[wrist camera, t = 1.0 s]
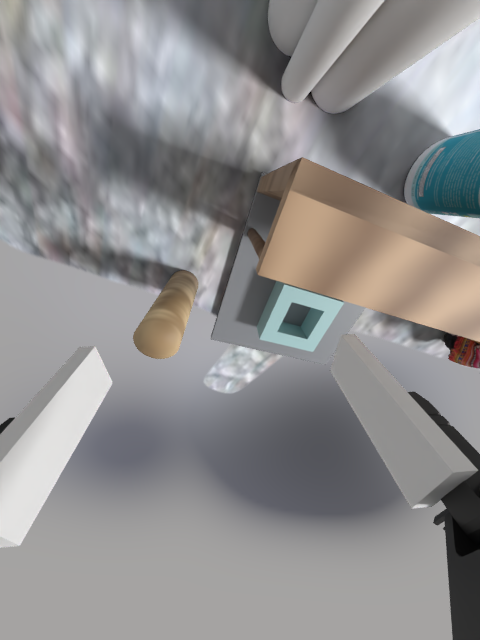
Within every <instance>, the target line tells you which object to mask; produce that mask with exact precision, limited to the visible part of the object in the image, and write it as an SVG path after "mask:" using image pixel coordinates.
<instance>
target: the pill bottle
mask: <svg viewBox="0 0 480 640" xmlns="http://www.w3.org/2000/svg"><path fill="white" fill-rule="evenodd" d="M404 195H405V200H406V202H407V204H408V205H411V206H413V207H415V208H417V209H420V210H422V211H424V212H426V213H429V214H441V215H451V216H462V217H472V218H480V129H479V130H475V131H471V132H467V133H463V134H459V135H455V136H452V137H448V138H445V139H442V140H440V141H438V142H436V143H435V144H433V145H432V146H430V147H429V148H428V149H426V150H425V151H424V152H423V153H422V154H421V155H420V156H419V157H418V159H417V160H416V161H415V163H414V164H413V166H412V168H411V169H410V171H409V173H408V176H407V179H406V182H405V187H404Z"/></svg>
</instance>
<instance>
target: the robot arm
mask: <svg viewBox="0 0 480 640" xmlns="http://www.w3.org/2000/svg"><path fill="white" fill-rule="evenodd" d="M330 371H331V373H332V375H333V376H334V378H335V380H336V382H337V383H338V385H339V387H340V388H341V390H342V392H343V393H344V395H345V397H346V398H347V400H348V402H349V403H350V405H351V407H352V409H353V410H354V412H355V414H356V415H357V417H358V419H359V420H360V422H361V424H362V426H363V427H364V429H365V431H366V432H367V434H368V436H369V437H370V439H371V441H372V442H373V444H374V446H375V448H376V449H377V451H378V453H379V454H380V456H381V458H382V459H383V461H384V463H385V464H386V466H387V468H388V470H389V471H390V473H391V475H392V476H393V478H394V480H395V481H396V483H397V485H398V487H399V488H400V490H401V491H402V493H403V495H404V497H405V498H406V500H407V502H408V504H409V505H410V507H411V508H421V507H432V506H433V505H435V504H436V503H437V502H438V501H440V500H442V502H443V503H444V505H445V506H446V508H447V509H445V510H444V511H443V512H441V513H440V514H439V515H437V516H435V518H434V522H433V523H434V524H436V525H439V524H440V523H442V522H444V521H445V527H444V528H443V529H444V530H445V533H446V546H447V562H448V577H449V590H450V606H451V620H452V634H453V640H480V454H479V453H478V452H477V451H476V450H475V449H474V448H473V447H472V446H471V445H470V444H469V443H468V442H467V440H465V438H464V437H463V436H462V435H461V434H460V433H459V432H458V431H457V430H456V429H455V428H454V427H453V426H450V423H449V422H448V421H447V420H446V419H445V418H444V417H443V416H441V415H440V413H439V412H438V411H437V410H436V409H435V407H433V405H432V404H430V403H429V401H427V400H426V399H424V398H423V397H421V396H420V395H419V394H417V393H416V392H407V391H406V390H405V389H404V388H403V387H402V386H401V385H400V384H399V383H398V381H397V380H396V379H395V378H394V377H393V376H392V375H391V374H390V373H389V371H388V370H387V369H386V368H385V367H384V366H383V365H382V364H381V363H380V362H379V360H378V359H377V358H376V357H375V356H374V355H373V354H372V353H371V352H370V351H369V349H368V348H367V347H366V346H365V345H364V344H363V343H362V342H361V341H360V340H359V339H358V337H357V336H356V335H355V334H347V335H341V337H340V340H339V343H338V347H337V350H336V353H335V356H334V360H333V363H332V366H331V370H330ZM112 383H113V382H112V380H111V378H110V376H109V374H108V372H107V370H106V368H105V366H104V364H103V361H102V359H101V358H100V355H99V353H98V351H97V349H96V347H95V346H90V347H79V348H78V350H77V351H76V352H75V353H74V354H73V355H72V356H71V357H70V358H69V359H68V360H67V362H66V363H65V364H64V365H63V366H62V367H61V368H60V369H59V370H58V372H57V373H56V374H55V375H54V376H53V377H52V378H51V379H50V380H49V381H48V382H47V384H46V385H45V386H44V387H43V388H42V389H41V390H40V391H39V392H38V394H37V395H36V396H35V397H34V398H33V399H32V400H31V401H30V402H29V403H28V404H27V406H26V407H25V408H24V409H23V410H22V411H21V412H20V413H19V414H18V416H16V418H9V419H8V420H7V421H5V422H4V423H3V424H1V425H0V548H2V547H11V546H20V544H21V542H22V541H23V539H24V537H25V535H26V533H27V532H28V530H29V529H30V527H31V525H32V523H33V521H34V520H35V518H36V516H37V515H38V513H39V511H40V509H41V508H42V506H43V504H44V502H45V501H46V499H47V497H48V495H49V494H50V492H51V490H52V488H53V486H54V485H55V483H56V481H57V480H58V478H59V476H60V474H61V472H62V471H63V469H64V467H65V465H66V464H67V462H68V460H69V458H70V457H71V455H72V453H73V451H74V450H75V448H76V446H77V445H78V443H79V441H80V439H81V437H82V436H83V434H84V432H85V431H86V429H87V427H88V425H89V423H90V422H91V420H92V418H93V416H94V415H95V413H96V411H97V409H98V408H99V406H100V404H101V402H102V401H103V399H104V397H105V395H106V394H107V392H108V390H109V388H110V387H111V385H112Z"/></svg>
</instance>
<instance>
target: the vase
mask: <svg viewBox="0 0 480 640" xmlns="http://www.w3.org/2000/svg"><path fill="white" fill-rule="evenodd" d="M479 18H480V0H270V2H269V9H268V25H269V31H270V34H271V37H272V40H273V41H274V43H275V45H276V46H277V48H278V49H279V50H280V51H282V52H283V53H284V54H285V55H288V56H291V59H290V61H289V63H288V66H287V68H286V70H285V72H284V74H283V77H282V81H281V88H282V92H283V95H284V96H285V98H286V99H287V100H288V101H290V102H293V103H298V102H301V101H302V100H304V99H305V97H306V96H307V95H308V94H309V93H310V91H311V93H312V96H313V98H314V100H315V102H316V104H317V106H319V107H320V108H321V109H322V110H323V111H325V112H328V113H332V114H337V113H341V112H345V111H346V110H348V109H349V108H351V107H352V106H354V105H355V104H357V103H358V102H360V101H361V100H363V99H364V98H365V97H367V96H368V95H370V94H371V93H373V92H374V91H376V90H377V89H378V88H380V87H381V86H383V85H384V84H386V83H387V82H389V81H390V80H391V79H393V78H394V77H396V76H397V75H399V74H400V73H402V72H403V71H404V70H406V69H407V68H409V67H410V66H412V65H413V64H415V63H416V62H417V61H419V60H420V59H422V58H423V57H425V56H426V55H427V54H429V53H430V52H432V51H433V50H435V49H436V48H438V47H439V46H440V45H442V44H443V43H445V42H446V41H448V40H449V39H451V38H452V37H453V36H455V35H456V34H458V33H459V32H461V31H462V30H464V29H465V28H466V27H468V26H469V25H471V24H472V23H474V22H475V21H477V20H478V19H479Z"/></svg>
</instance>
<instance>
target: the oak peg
mask: <svg viewBox="0 0 480 640" xmlns="http://www.w3.org/2000/svg"><path fill="white" fill-rule="evenodd" d="M197 289H198V280H197V278H196V277H195V276H194V275H193V274H192V273H191V272H189V271H185V270H181V271H177V272H175V273H174V274H173V275H172V277H171V278H170V280H169V281H168V283H167V284H166V286H165V287H164V289H163V290H162V292H161V293H160V295H159V296H158V298H157V299H156V301H155V302H154V304H153V305H152V307H151V308H150V310H149V311H148V313H147V314H146V316H145V317H144V319H143V320H142V322H141V323H140V325H139V326H138V328H137V329H136V331H135V332H134V336H133V339H134V344H135V345H136V347H137V349H138V350H139V351H140V352H142V353H143V354H145V355H146V356H149V357H151V358H156V359H164V358H169V357H171V356H173V355H174V354H175V353H177V351H178V349H179V347H180V344H181V340H182V337H183V334H184V330H185V327H186V324H187V321H188V318H189V315H190V311H191V308H192V305H193V302H194V299H195V295H196V292H197Z"/></svg>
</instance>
